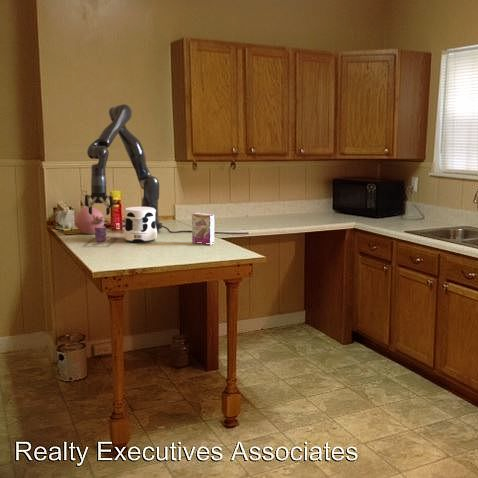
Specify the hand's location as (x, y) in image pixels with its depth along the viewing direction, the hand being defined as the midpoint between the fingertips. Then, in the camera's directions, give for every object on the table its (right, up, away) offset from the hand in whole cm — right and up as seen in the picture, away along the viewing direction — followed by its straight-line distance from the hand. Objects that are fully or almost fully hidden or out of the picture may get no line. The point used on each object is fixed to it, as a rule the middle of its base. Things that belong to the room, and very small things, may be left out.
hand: (99, 214), depth 320 cm
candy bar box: (+54, -16, +7) cm, 56 cm away
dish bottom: (0, -14, +3) cm, 14 cm away
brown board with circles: (0, -15, +3) cm, 15 cm away
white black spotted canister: (+19, -14, +8) cm, 26 cm away
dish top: (0, -9, +2) cm, 9 cm away
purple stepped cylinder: (0, -12, +2) cm, 12 cm away
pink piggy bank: (-12, -11, +21) cm, 27 cm away
